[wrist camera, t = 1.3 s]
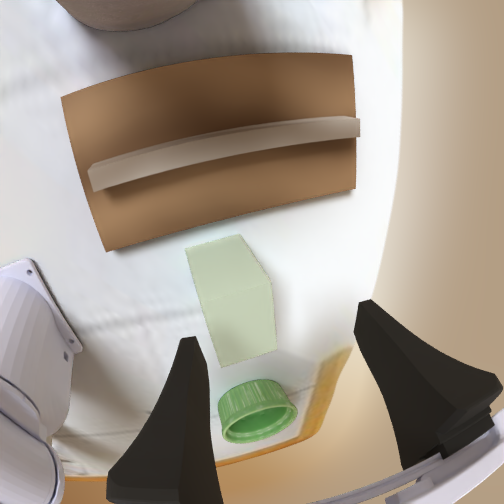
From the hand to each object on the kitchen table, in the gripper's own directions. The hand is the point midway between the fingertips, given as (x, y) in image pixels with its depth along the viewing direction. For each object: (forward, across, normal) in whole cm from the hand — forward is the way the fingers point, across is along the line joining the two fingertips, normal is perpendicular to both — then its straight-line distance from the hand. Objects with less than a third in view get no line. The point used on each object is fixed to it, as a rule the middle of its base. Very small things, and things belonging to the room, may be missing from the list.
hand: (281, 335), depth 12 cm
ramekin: (+10, +3, +22) cm, 25 cm away
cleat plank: (+10, +1, -6) cm, 12 cm away
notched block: (+10, +3, +4) cm, 11 cm away
